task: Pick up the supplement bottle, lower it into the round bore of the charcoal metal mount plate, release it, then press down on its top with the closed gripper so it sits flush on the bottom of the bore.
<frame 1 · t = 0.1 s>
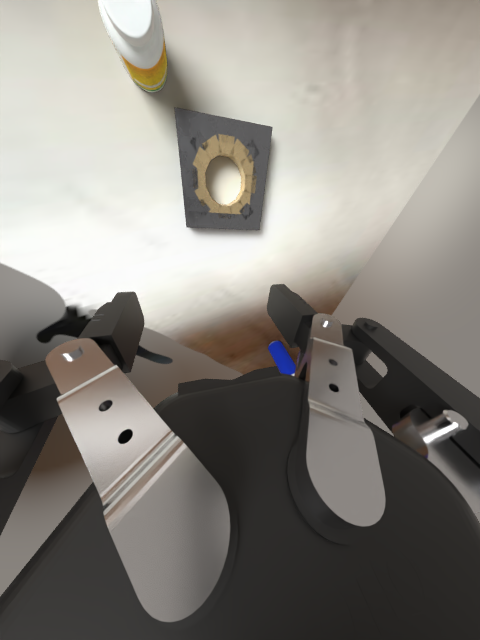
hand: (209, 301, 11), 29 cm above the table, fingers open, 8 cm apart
supplement bottle: (145, 60, 21), on the table
mount plate: (223, 181, 30), on the table
beverage can: (274, 344, 61), on the table
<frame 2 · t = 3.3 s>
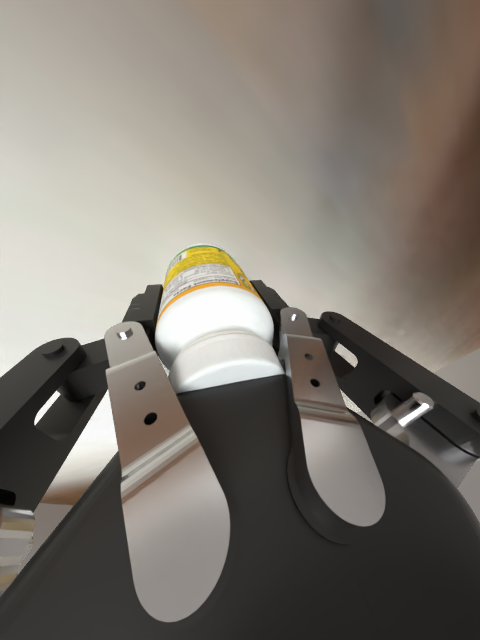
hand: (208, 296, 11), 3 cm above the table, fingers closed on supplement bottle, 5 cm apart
supplement bottle: (204, 278, 13), on the table, touching gripper
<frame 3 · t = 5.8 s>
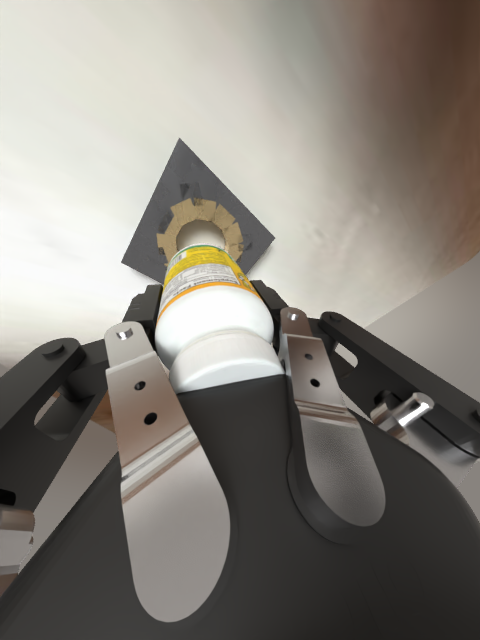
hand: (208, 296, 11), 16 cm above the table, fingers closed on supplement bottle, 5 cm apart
supplement bottle: (204, 278, 13), point 13 cm above the table, touching gripper
mount plate: (201, 244, 24), on the table
when the fingers open (4 cm above the table, at t = 8.6 s): supplement bottle drops 1 cm, resting in mount plate.
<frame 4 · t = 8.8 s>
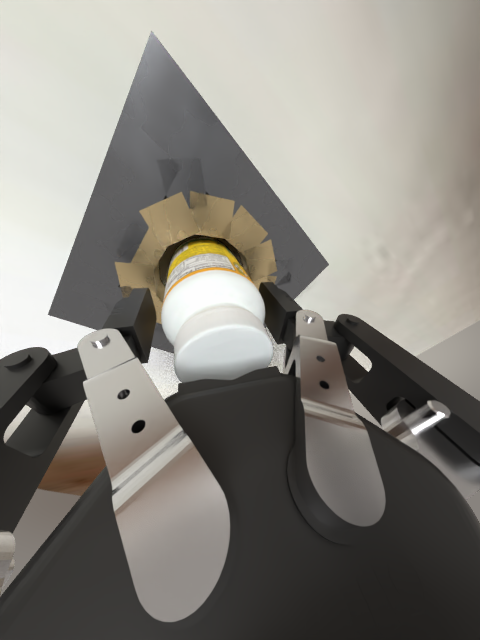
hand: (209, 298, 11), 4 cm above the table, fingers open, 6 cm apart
supplement bottle: (204, 270, 14), resting in mount plate
mount plate: (203, 272, 14), on the table
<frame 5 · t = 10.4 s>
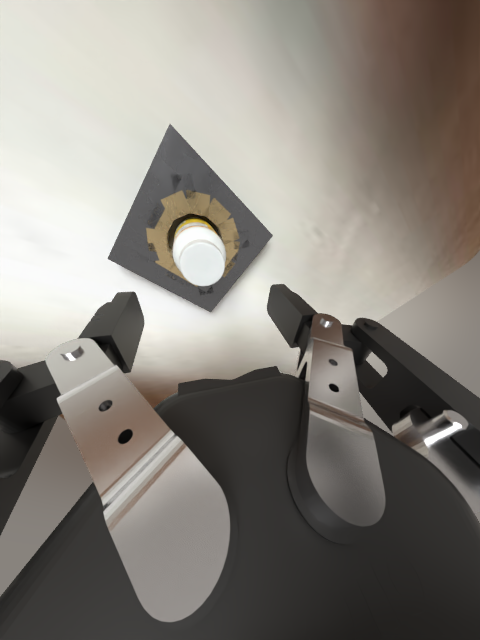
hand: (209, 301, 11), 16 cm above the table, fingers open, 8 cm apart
supplement bottle: (196, 240, 23), resting in mount plate
mount plate: (195, 241, 23), on the table
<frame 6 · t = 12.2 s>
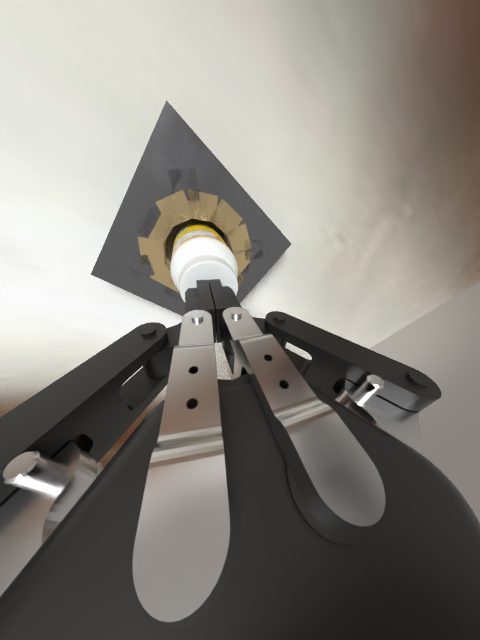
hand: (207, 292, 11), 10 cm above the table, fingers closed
supplement bottle: (199, 249, 19), resting in mount plate
mount plate: (198, 250, 19), on the table
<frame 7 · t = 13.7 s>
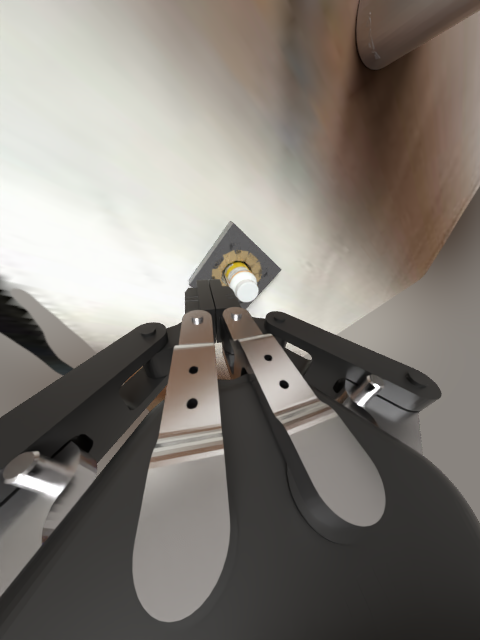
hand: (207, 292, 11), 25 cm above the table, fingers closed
supplement bottle: (235, 271, 37), resting in mount plate
mount plate: (234, 272, 37), on the table
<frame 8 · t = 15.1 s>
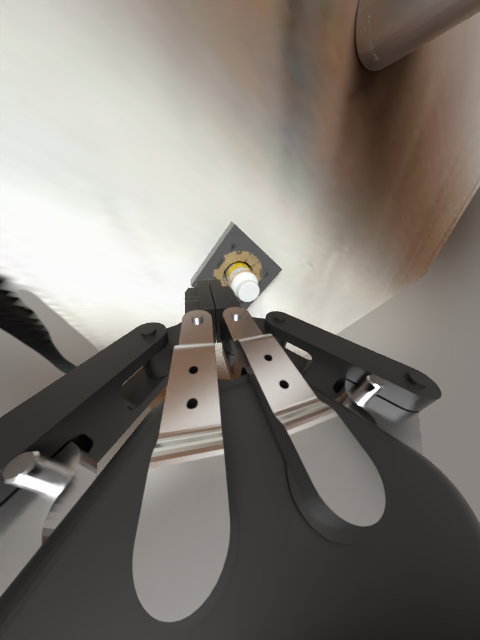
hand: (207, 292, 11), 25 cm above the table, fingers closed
supplement bottle: (236, 271, 38), resting in mount plate
mount plate: (235, 272, 38), on the table
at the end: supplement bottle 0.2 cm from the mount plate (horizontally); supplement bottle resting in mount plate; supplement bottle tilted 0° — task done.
